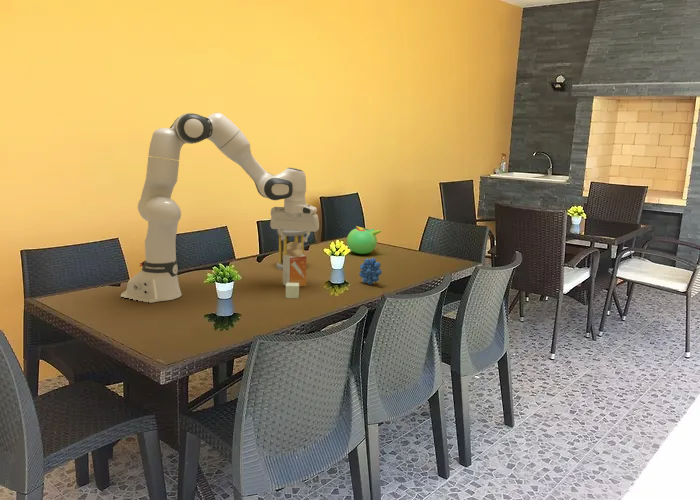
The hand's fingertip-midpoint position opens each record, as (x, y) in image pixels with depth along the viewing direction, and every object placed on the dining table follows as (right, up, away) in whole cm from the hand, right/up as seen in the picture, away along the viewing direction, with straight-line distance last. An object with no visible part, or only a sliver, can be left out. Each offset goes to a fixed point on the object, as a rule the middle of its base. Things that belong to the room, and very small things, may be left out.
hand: (294, 240), depth 240 cm
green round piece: (+30, -6, +70) cm, 76 cm away
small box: (0, -19, +4) cm, 19 cm away
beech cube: (0, -6, +1) cm, 6 cm away
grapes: (+32, -19, +9) cm, 38 cm away
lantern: (-5, -12, +36) cm, 38 cm away
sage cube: (0, -22, -12) cm, 25 cm away
